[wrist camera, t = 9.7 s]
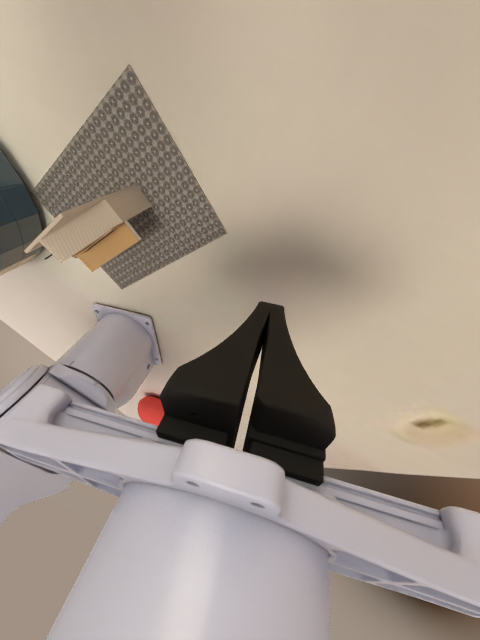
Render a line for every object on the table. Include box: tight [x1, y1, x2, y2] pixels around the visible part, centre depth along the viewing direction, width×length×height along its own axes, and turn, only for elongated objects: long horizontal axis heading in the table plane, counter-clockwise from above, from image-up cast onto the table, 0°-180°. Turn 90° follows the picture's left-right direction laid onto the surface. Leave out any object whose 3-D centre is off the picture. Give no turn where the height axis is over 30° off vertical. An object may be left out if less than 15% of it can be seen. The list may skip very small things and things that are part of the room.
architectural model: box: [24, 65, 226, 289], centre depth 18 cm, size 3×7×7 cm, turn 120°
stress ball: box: [138, 396, 164, 426], centre depth 42 cm, size 5×9×6 cm, turn 41°
